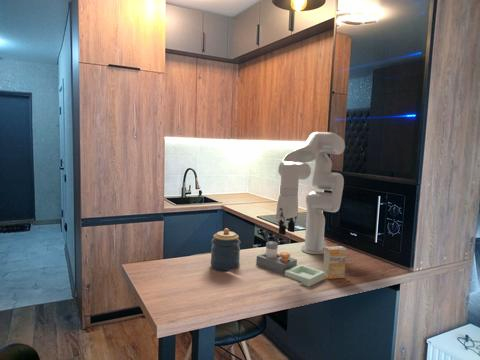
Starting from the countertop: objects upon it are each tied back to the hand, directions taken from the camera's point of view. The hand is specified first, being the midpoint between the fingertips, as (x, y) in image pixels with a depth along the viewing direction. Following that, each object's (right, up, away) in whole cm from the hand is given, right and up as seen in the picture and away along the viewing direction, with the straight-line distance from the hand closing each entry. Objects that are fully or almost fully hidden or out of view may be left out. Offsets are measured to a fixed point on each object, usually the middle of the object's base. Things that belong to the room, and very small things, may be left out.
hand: (286, 232), depth 157 cm
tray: (+7, -19, -5) cm, 20 cm away
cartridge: (-6, -16, +7) cm, 18 cm away
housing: (-4, -17, +5) cm, 18 cm away
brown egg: (-1, -14, +2) cm, 15 cm away
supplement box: (+20, -19, -2) cm, 28 cm away
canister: (-27, -16, +5) cm, 32 cm away
